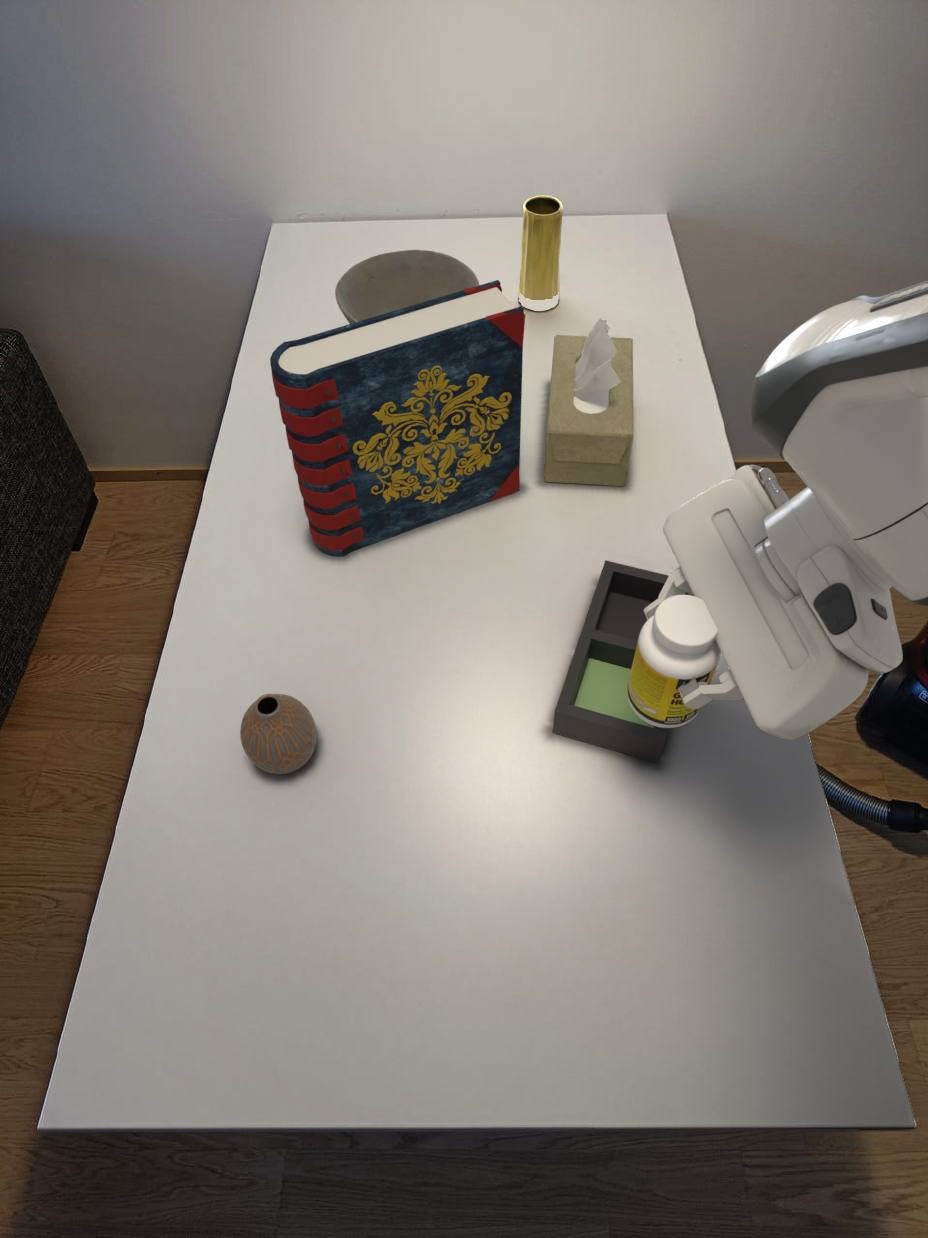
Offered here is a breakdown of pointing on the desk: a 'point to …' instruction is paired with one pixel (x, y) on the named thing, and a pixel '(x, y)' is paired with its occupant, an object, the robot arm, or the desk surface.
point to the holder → (610, 667)
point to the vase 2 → (540, 248)
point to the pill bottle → (672, 660)
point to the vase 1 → (278, 733)
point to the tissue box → (590, 409)
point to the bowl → (399, 282)
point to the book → (404, 415)
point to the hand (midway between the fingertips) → (667, 659)
